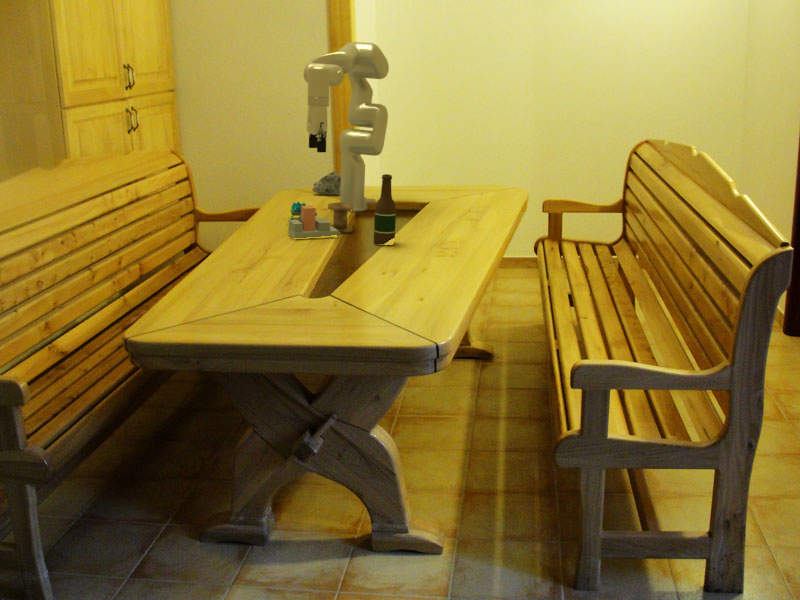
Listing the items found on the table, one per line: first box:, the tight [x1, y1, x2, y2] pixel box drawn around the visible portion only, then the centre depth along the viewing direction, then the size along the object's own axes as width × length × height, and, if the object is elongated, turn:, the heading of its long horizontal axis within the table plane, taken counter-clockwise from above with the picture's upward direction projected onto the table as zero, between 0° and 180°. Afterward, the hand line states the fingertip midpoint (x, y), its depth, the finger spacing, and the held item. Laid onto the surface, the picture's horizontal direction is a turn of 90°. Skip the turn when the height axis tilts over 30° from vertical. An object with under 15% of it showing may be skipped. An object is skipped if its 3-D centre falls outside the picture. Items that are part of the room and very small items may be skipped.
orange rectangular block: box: [301, 205, 316, 231], centre depth 343 cm, size 4×4×8 cm
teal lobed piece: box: [289, 201, 318, 221], centre depth 367 cm, size 11×6×10 cm
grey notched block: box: [287, 217, 340, 239], centre depth 344 cm, size 16×8×6 cm, turn 112°
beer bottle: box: [373, 174, 397, 245], centre depth 336 cm, size 8×8×24 cm
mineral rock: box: [312, 171, 341, 196], centre depth 416 cm, size 13×11×10 cm
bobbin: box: [327, 202, 353, 235], centre depth 354 cm, size 9×9×9 cm
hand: (317, 150), depth 350 cm, fingers open, 9 cm apart
